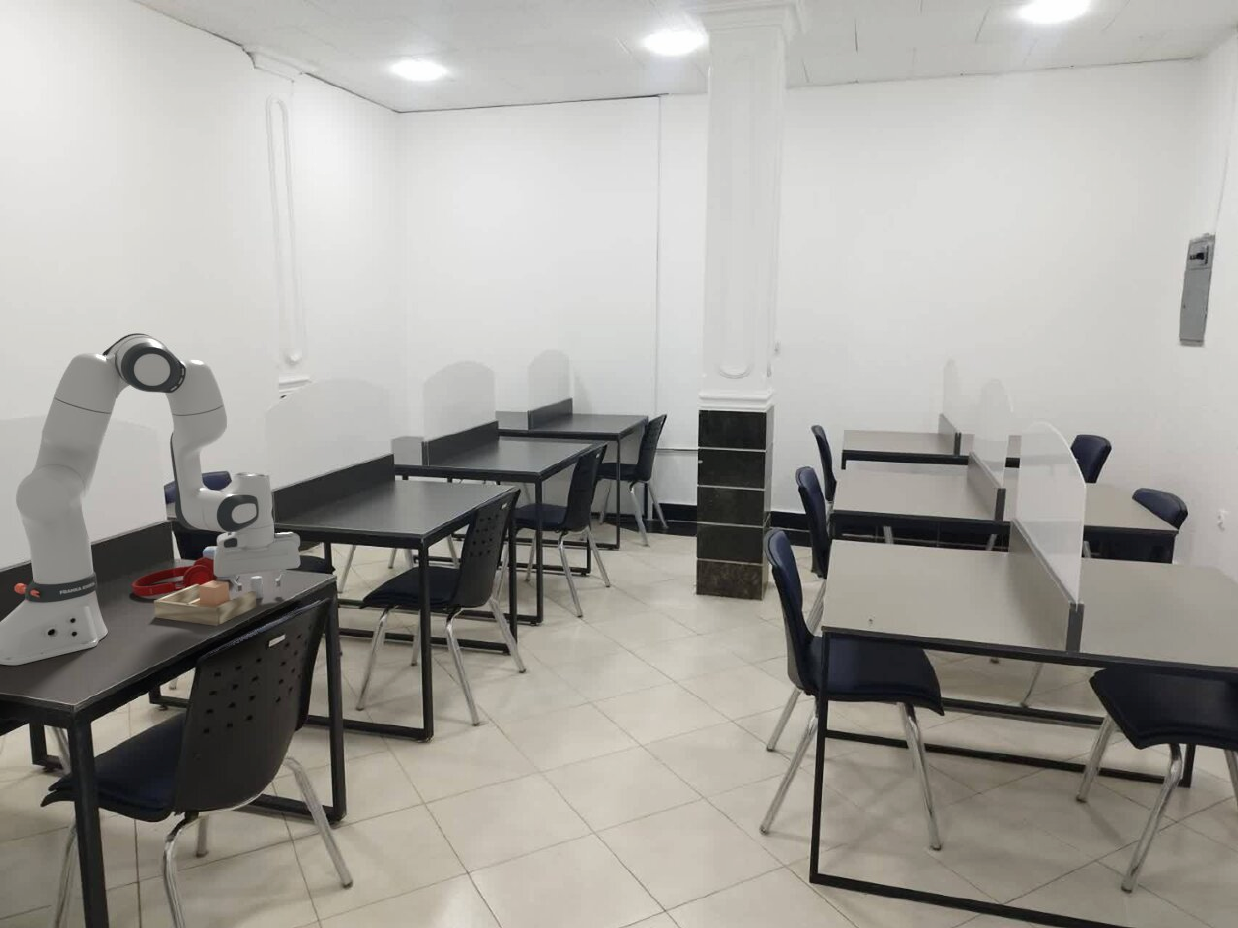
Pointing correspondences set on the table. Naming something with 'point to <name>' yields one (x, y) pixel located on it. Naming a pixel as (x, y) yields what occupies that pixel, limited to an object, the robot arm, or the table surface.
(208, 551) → the medicine box
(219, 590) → the block
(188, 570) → the headphones
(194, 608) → the lane shelf
